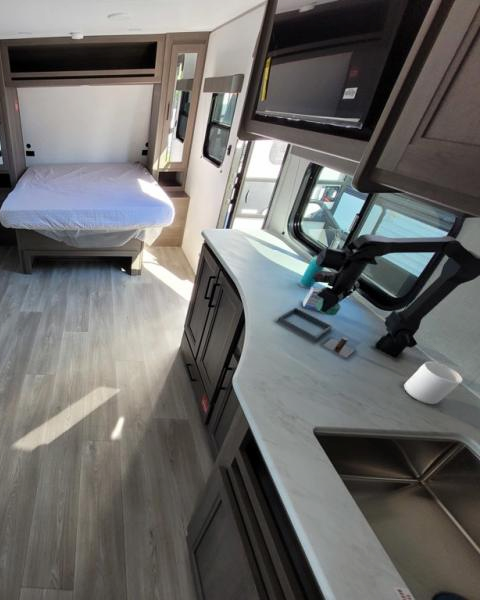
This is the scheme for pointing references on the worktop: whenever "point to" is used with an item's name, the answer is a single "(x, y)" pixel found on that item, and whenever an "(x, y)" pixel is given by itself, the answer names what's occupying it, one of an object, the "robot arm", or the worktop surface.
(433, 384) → the mug
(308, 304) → the medicine box
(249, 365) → the worktop surface
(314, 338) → the tray
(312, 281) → the beverage can
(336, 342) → the stand
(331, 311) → the ring
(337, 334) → the worktop surface
